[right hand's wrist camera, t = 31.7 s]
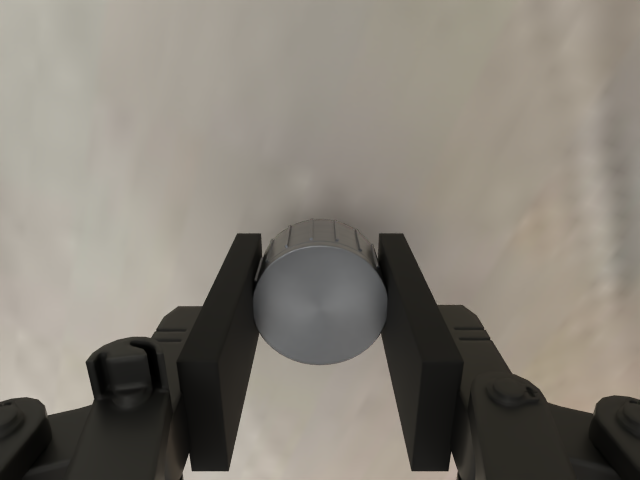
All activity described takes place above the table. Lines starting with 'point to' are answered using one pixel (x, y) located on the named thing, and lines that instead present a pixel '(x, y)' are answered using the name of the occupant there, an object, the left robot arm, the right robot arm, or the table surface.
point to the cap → (320, 293)
